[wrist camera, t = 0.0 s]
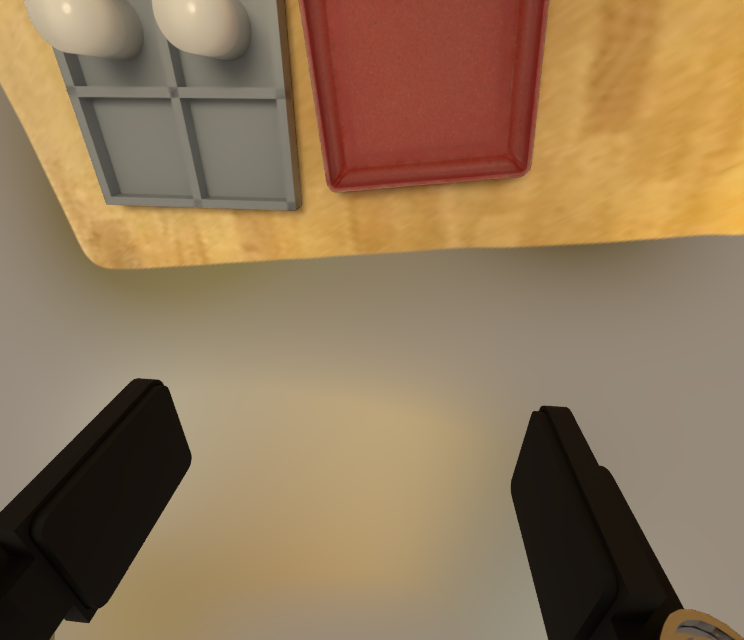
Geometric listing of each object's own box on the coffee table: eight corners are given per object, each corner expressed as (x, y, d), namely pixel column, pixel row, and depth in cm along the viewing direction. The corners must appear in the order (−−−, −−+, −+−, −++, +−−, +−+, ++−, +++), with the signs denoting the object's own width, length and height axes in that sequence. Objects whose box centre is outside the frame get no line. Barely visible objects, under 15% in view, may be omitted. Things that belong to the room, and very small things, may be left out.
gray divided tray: (41, -51, 30) (15, -62, 28) (279, -56, 28) (269, -68, 26) (121, 199, 40) (106, 204, 38) (301, 204, 38) (295, 210, 36)
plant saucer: (521, 170, 35) (531, 176, 32) (333, 187, 37) (327, 194, 35) (547, -104, 26) (564, -129, 23) (298, -60, 28) (285, -78, 26)
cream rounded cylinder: (189, -10, 30) (143, -34, 24) (246, -11, 29) (211, -35, 24) (202, 60, 32) (162, 53, 27) (255, 60, 32) (224, 53, 26)
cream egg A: (79, -9, 30) (11, -31, 25) (133, -9, 30) (75, -32, 25) (99, 60, 33) (41, 52, 27) (150, 60, 32) (100, 53, 27)
